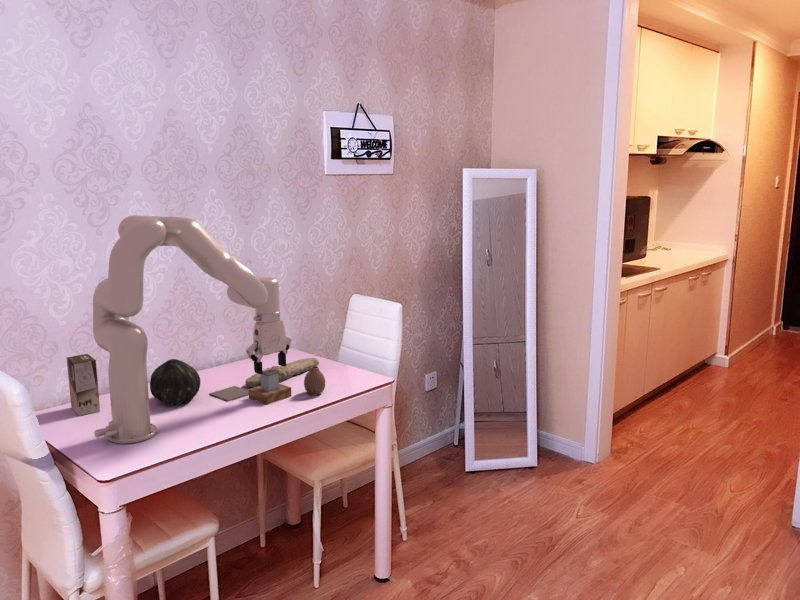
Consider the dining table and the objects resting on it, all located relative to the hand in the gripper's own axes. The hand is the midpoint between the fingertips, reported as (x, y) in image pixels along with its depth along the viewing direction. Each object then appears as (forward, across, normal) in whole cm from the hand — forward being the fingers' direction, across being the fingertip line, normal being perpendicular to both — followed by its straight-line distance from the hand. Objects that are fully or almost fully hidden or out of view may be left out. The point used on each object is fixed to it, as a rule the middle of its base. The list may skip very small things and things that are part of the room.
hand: (270, 369), depth 206 cm
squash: (+9, -22, +20) cm, 31 cm away
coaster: (+9, -7, +12) cm, 17 cm away
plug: (+9, -1, 0) cm, 9 cm away
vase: (+10, +11, -8) cm, 17 cm away
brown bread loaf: (+10, +17, +14) cm, 24 cm away
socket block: (+9, -1, 0) cm, 9 cm away
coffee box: (+8, -44, +34) cm, 56 cm away
